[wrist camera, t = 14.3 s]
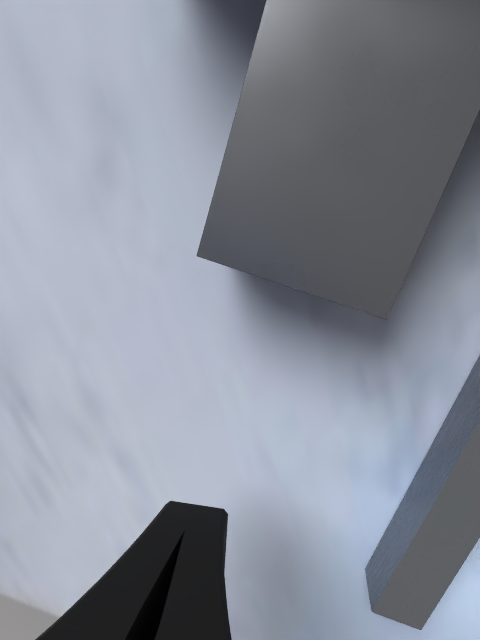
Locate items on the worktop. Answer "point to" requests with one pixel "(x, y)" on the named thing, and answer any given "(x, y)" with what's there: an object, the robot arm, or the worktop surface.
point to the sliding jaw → (345, 143)
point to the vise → (432, 519)
